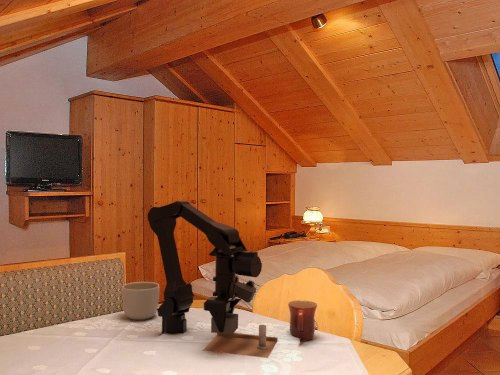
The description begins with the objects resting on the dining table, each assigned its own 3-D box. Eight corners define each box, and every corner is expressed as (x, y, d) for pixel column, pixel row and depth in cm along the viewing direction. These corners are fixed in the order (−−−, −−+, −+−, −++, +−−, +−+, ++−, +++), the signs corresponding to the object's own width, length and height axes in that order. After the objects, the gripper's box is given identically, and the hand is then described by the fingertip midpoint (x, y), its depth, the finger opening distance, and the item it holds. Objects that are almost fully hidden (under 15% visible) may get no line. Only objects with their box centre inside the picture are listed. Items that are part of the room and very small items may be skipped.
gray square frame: (211, 332, 123) (211, 318, 123) (218, 326, 129) (218, 312, 129) (231, 334, 122) (232, 320, 122) (238, 328, 128) (238, 313, 128)
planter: (122, 313, 158) (122, 282, 158) (158, 311, 161) (158, 281, 161) (121, 324, 146) (121, 290, 146) (159, 321, 149) (160, 289, 149)
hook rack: (202, 354, 120) (202, 327, 120) (217, 338, 133) (218, 314, 133) (267, 362, 116) (268, 334, 116) (277, 345, 129) (277, 320, 128)
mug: (289, 332, 140) (289, 299, 140) (317, 334, 138) (318, 301, 138) (284, 345, 128) (284, 309, 128) (315, 348, 127) (315, 311, 127)
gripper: (244, 281, 114) (243, 342, 115) (261, 268, 133) (260, 321, 133) (203, 278, 117) (202, 338, 117) (225, 266, 135) (224, 318, 135)
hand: (224, 328), depth 126 cm, fingers closed on gray square frame, 6 cm apart
